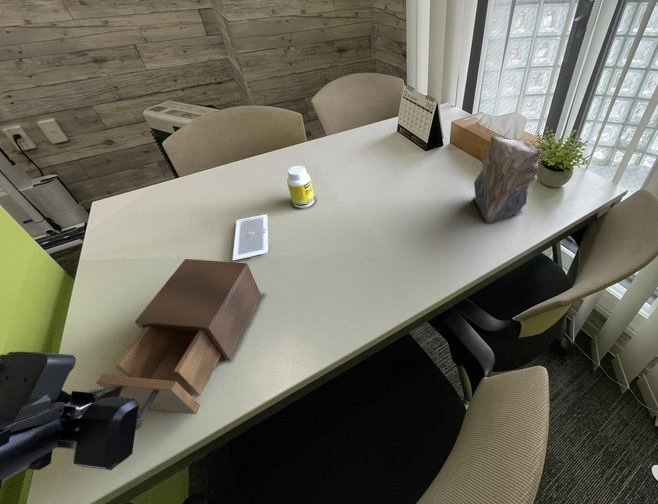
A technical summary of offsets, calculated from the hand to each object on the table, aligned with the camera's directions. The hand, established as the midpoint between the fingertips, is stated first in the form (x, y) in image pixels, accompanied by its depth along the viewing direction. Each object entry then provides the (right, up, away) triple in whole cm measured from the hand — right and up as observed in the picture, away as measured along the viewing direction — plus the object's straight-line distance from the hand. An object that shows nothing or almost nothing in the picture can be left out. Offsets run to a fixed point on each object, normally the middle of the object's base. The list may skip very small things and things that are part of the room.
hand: (118, 390), depth 43 cm
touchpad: (0, +16, +39) cm, 42 cm away
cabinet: (+1, +1, +21) cm, 21 cm away
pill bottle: (+10, +25, +51) cm, 58 cm away
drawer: (0, -5, +11) cm, 12 cm away
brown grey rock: (+64, +23, +48) cm, 84 cm away
